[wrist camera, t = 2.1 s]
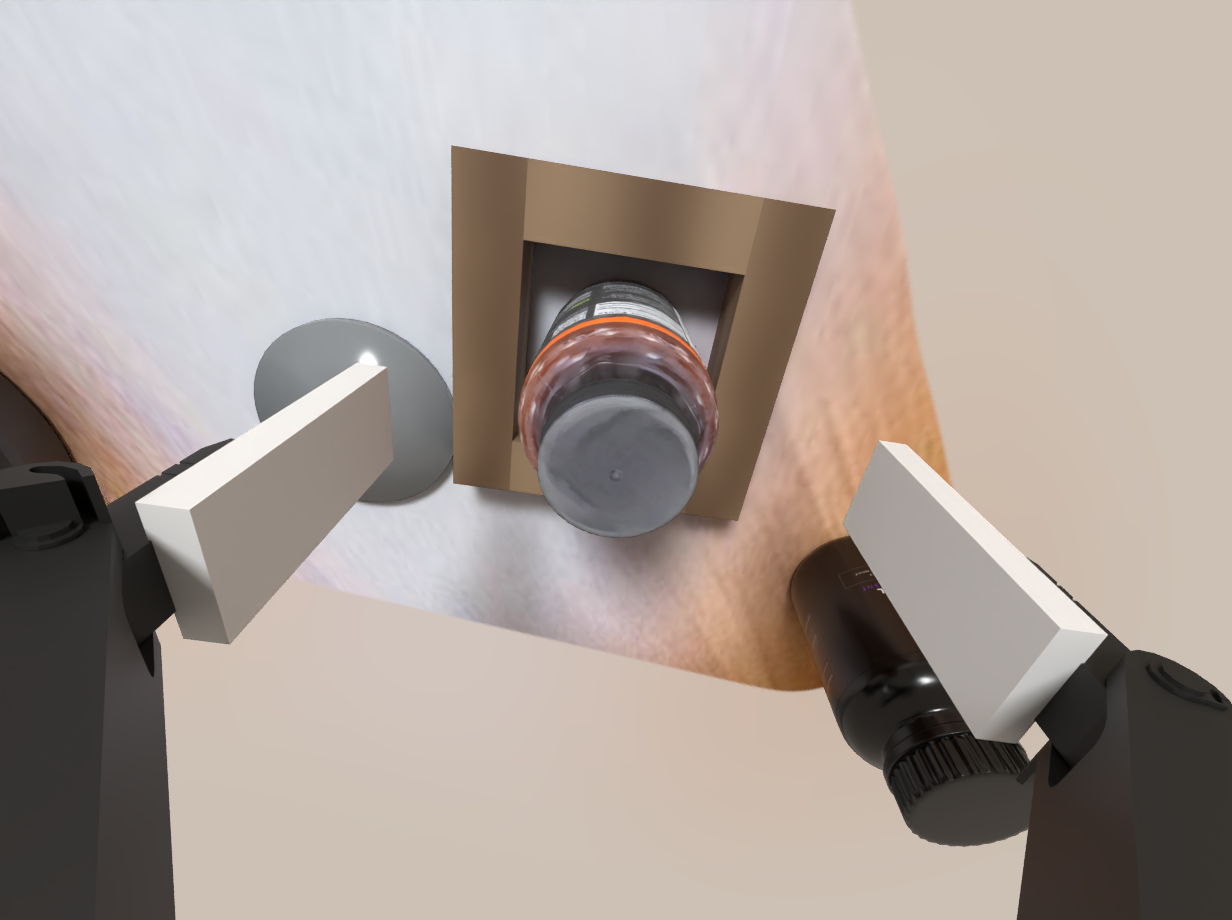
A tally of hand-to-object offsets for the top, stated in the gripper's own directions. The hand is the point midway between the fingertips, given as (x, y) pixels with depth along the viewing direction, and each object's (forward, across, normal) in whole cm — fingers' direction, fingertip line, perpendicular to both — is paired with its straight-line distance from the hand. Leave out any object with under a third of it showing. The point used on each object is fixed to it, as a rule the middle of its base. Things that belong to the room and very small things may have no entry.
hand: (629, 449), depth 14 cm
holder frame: (+10, 0, 0) cm, 10 cm away
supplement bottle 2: (+10, +14, -11) cm, 20 cm away
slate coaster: (+9, -12, -5) cm, 16 cm away
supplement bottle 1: (+10, 0, 0) cm, 10 cm away
